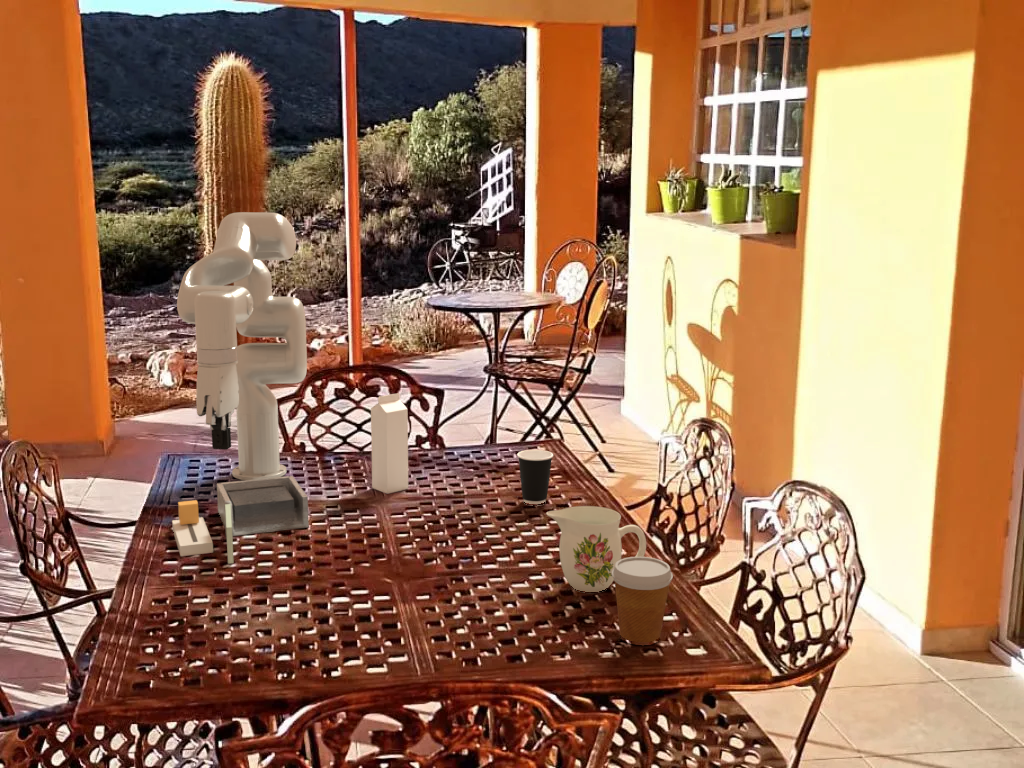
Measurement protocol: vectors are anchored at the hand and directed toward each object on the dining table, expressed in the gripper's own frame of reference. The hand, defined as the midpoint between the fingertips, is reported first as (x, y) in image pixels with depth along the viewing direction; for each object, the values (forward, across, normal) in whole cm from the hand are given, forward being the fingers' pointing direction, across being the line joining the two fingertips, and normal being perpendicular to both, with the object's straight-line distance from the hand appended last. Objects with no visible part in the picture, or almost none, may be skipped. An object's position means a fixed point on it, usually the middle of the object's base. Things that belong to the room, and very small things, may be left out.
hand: (221, 448), depth 212 cm
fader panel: (+18, +3, -6) cm, 20 cm away
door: (+18, +7, +4) cm, 20 cm away
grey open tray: (+19, -12, +3) cm, 22 cm away
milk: (+19, -38, +23) cm, 48 cm away
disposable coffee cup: (+18, +32, +83) cm, 91 cm away
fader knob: (+16, -1, -8) cm, 18 cm away
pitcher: (+18, +12, +74) cm, 78 cm away
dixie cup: (+19, -34, +57) cm, 69 cm away
